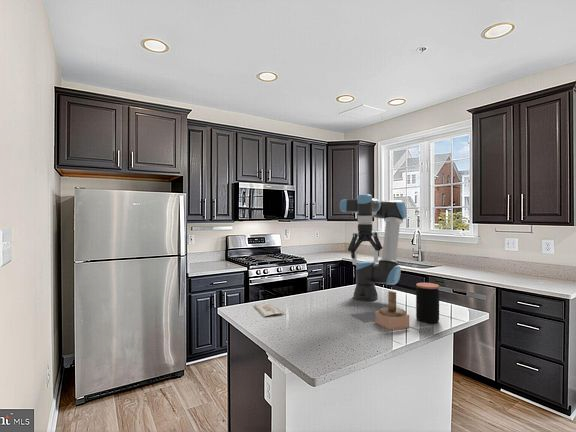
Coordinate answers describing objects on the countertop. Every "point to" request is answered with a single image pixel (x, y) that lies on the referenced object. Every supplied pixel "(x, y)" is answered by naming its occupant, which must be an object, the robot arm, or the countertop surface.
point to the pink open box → (392, 321)
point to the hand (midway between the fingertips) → (365, 263)
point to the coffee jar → (427, 302)
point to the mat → (365, 316)
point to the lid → (392, 307)
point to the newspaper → (268, 309)
